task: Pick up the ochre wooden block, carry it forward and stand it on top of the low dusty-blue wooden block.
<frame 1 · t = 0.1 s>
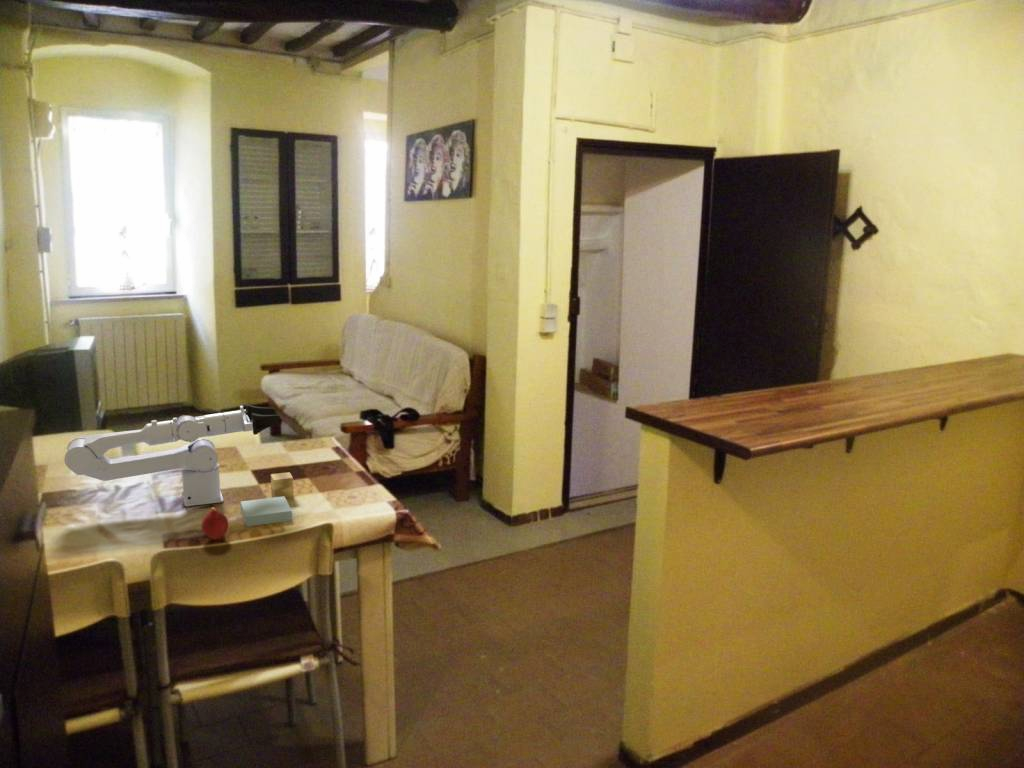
hand: (277, 415, 210), 22 cm above the table, tool horizontal, fingers open, 7 cm apart
ochre block: (282, 497, 210), on the table
onion: (215, 540, 182), on the table
base block: (266, 517, 197), on the table
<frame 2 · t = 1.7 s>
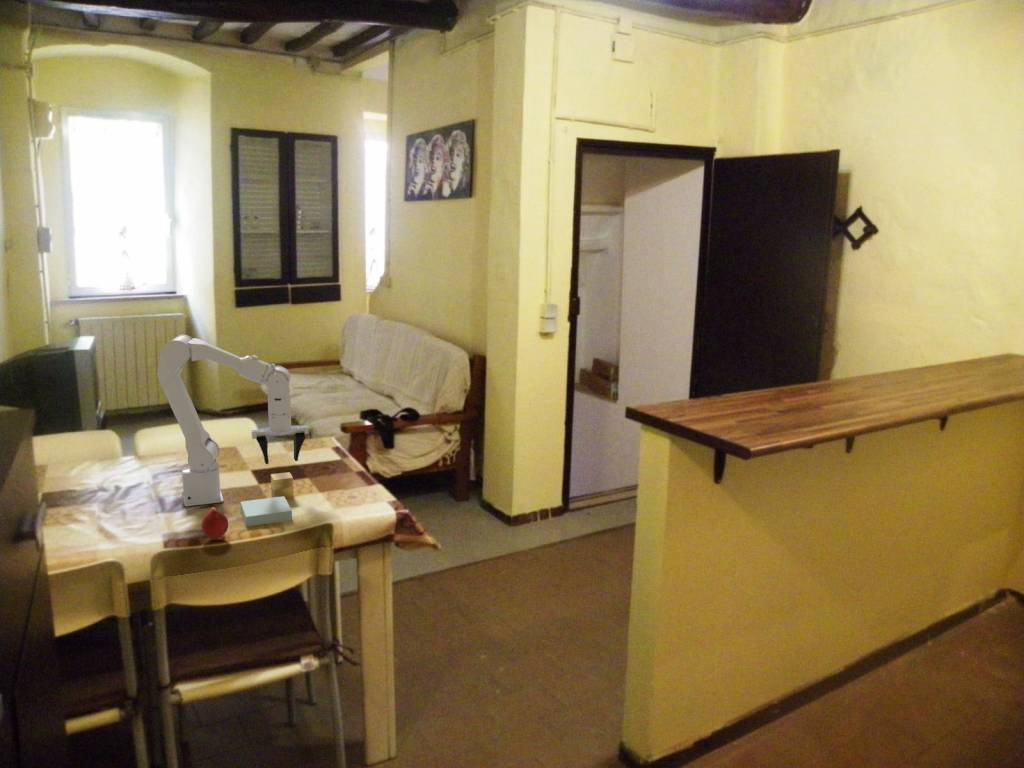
hand: (281, 461, 208), 10 cm above the table, tool pointing down, fingers open, 7 cm apart
nothing on the table moved.
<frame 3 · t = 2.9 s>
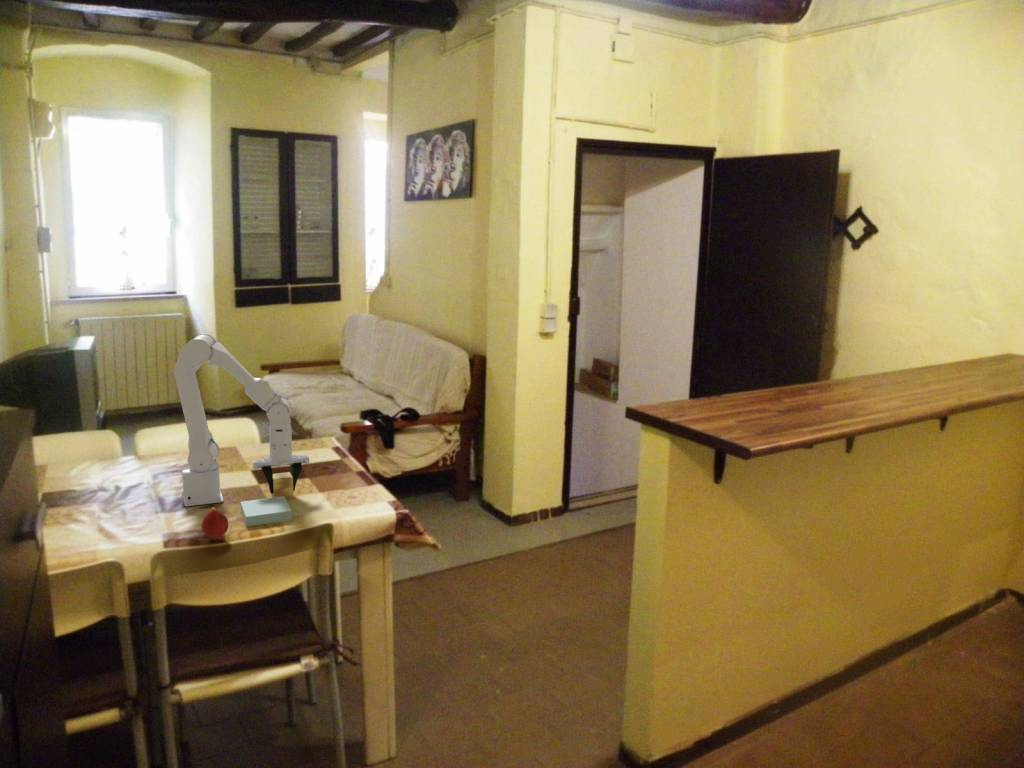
hand: (282, 491, 210), 2 cm above the table, tool pointing down, fingers closed on ochre block, 5 cm apart
ochre block: (282, 496, 210), on the table, touching gripper
everything else where it was.
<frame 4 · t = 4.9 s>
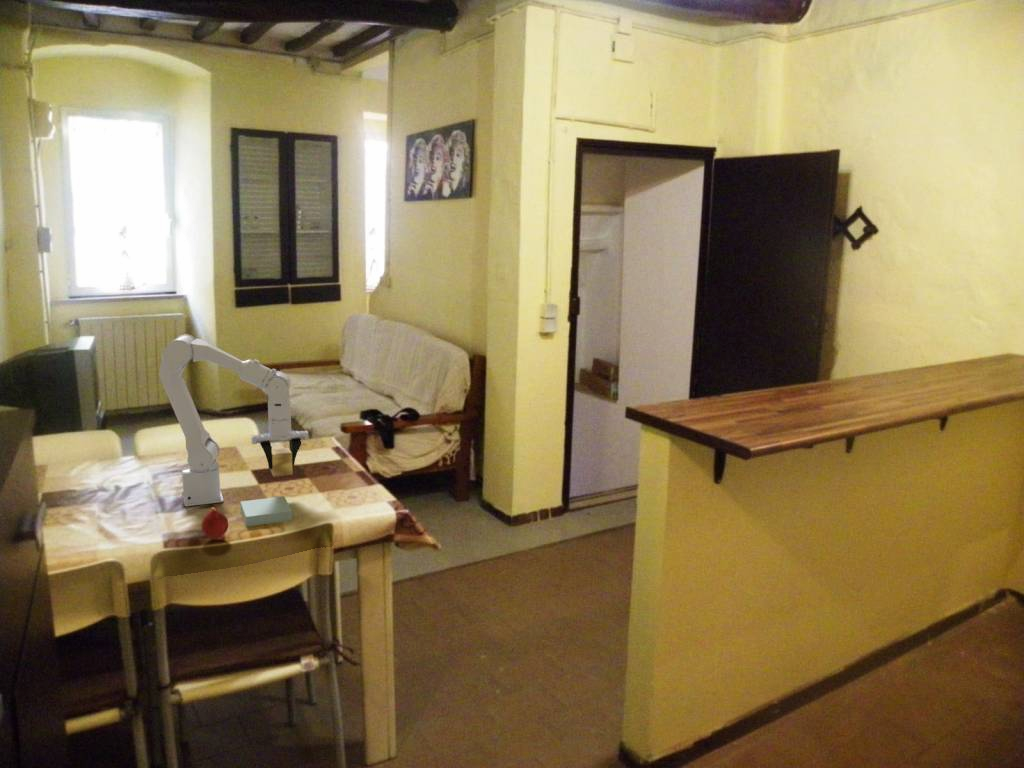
hand: (281, 466, 208), 9 cm above the table, tool pointing down, fingers closed on ochre block, 5 cm apart
ochre block: (281, 472, 209), point 7 cm above the table, touching gripper
everything else where it was.
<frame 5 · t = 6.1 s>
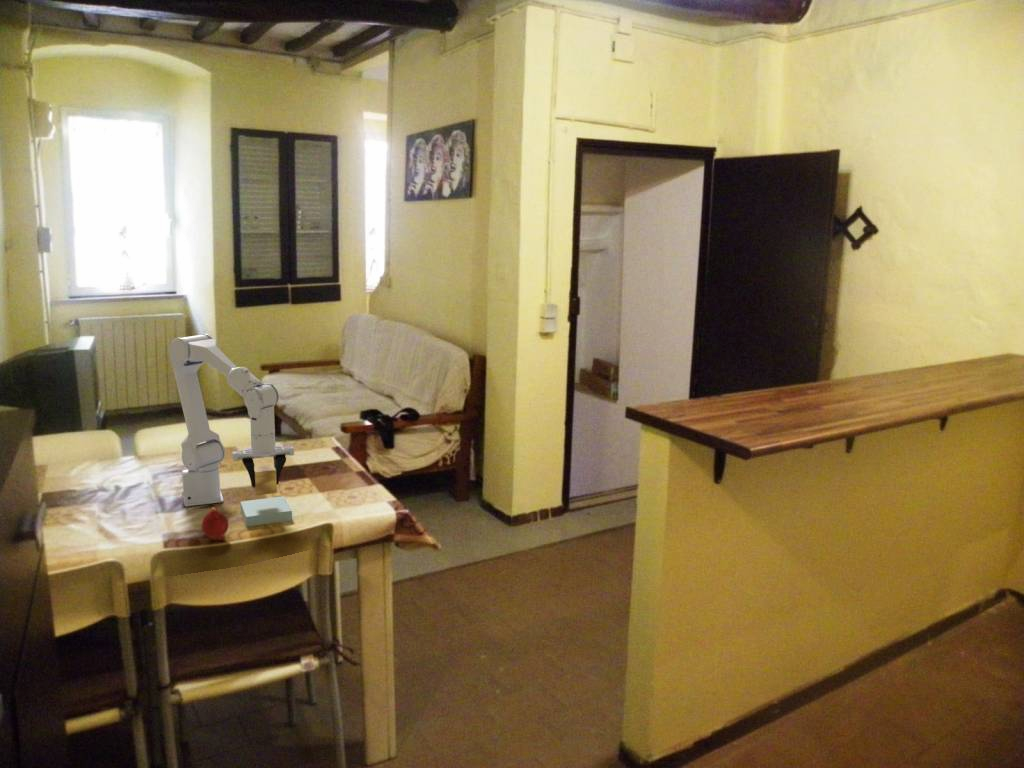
hand: (264, 484, 195), 8 cm above the table, tool pointing down, fingers closed on ochre block, 5 cm apart
ochre block: (265, 491, 196), point 7 cm above the table, touching gripper
everything else where it was.
when the fingers open (6 cm above the table, at t = 7.0 s): ochre block drops 2 cm, point 2 cm above the table.
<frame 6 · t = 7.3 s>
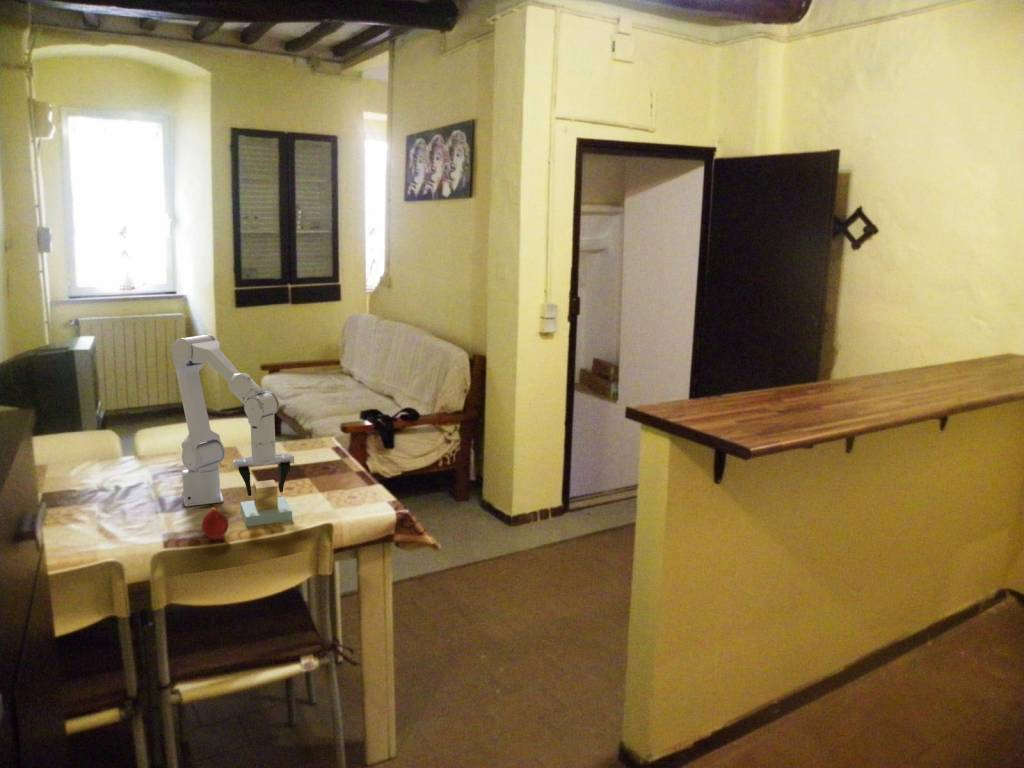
hand: (265, 492, 196), 6 cm above the table, tool pointing down, fingers open, 7 cm apart
ochre block: (266, 506, 197), point 2 cm above the table
everything else where it was.
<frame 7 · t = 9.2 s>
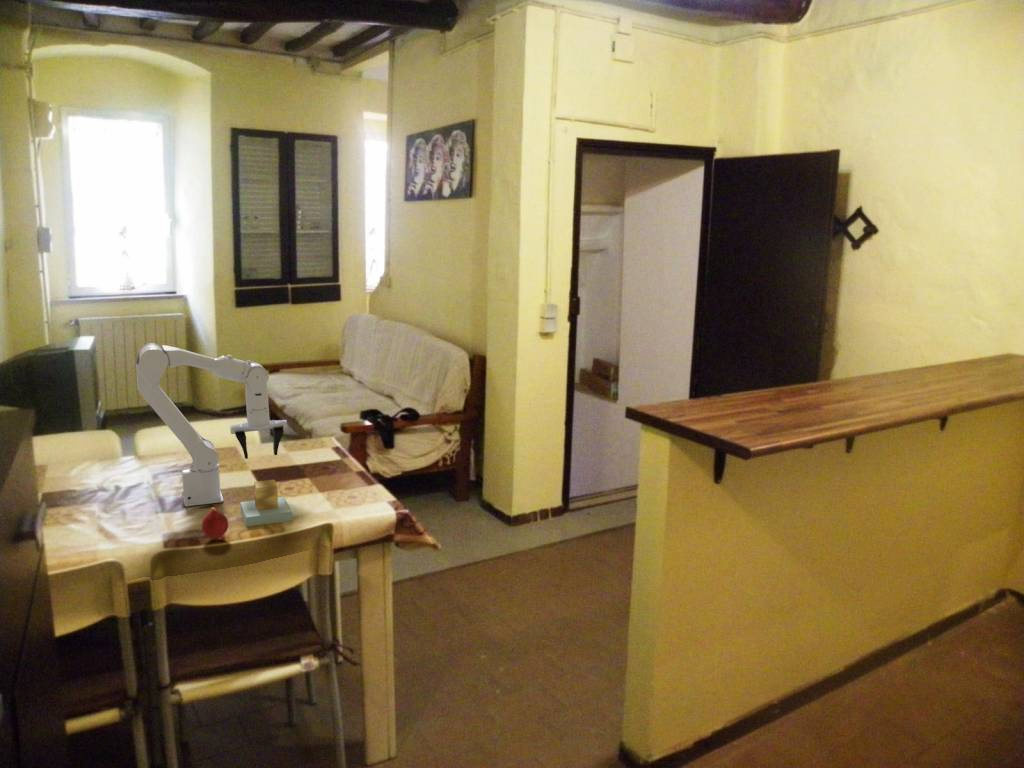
hand: (261, 455, 211), 10 cm above the table, tool pointing down, fingers open, 7 cm apart
ochre block: (266, 506, 197), point 2 cm above the table, touching base block
base block: (266, 517, 197), on the table, touching ochre block
everything else where it was.
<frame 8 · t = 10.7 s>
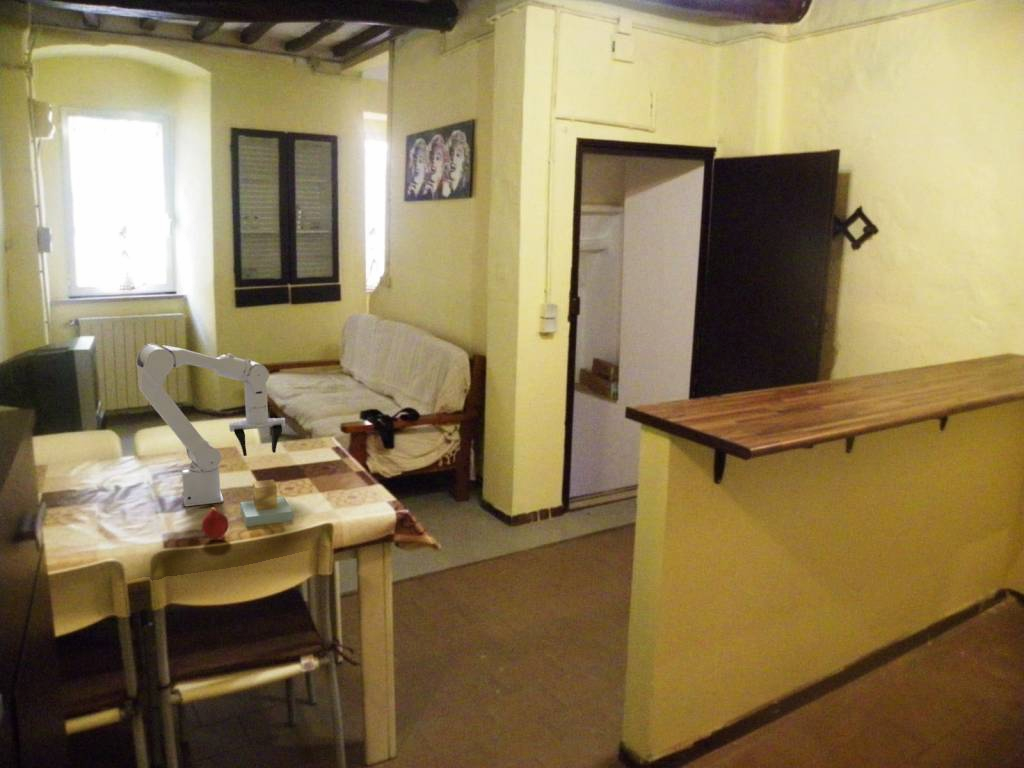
hand: (259, 453, 213), 10 cm above the table, tool pointing down, fingers open, 7 cm apart
ochre block: (265, 506, 197), point 2 cm above the table
base block: (266, 517, 197), on the table
everything else where it was.
at the end: ochre block inside the target area on the base block (0.4 cm from its centre), point 3.0 cm above the base block's base; ochre block tilted 0°; the gripper is holding nothing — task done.
